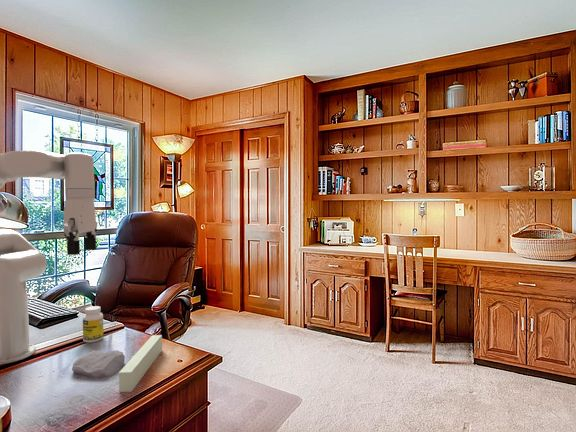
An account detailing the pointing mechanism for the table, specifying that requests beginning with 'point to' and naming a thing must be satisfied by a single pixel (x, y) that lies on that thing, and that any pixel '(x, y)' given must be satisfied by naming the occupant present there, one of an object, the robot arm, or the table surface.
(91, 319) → the pill bottle
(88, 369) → the grey rock
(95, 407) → the table surface
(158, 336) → the board
